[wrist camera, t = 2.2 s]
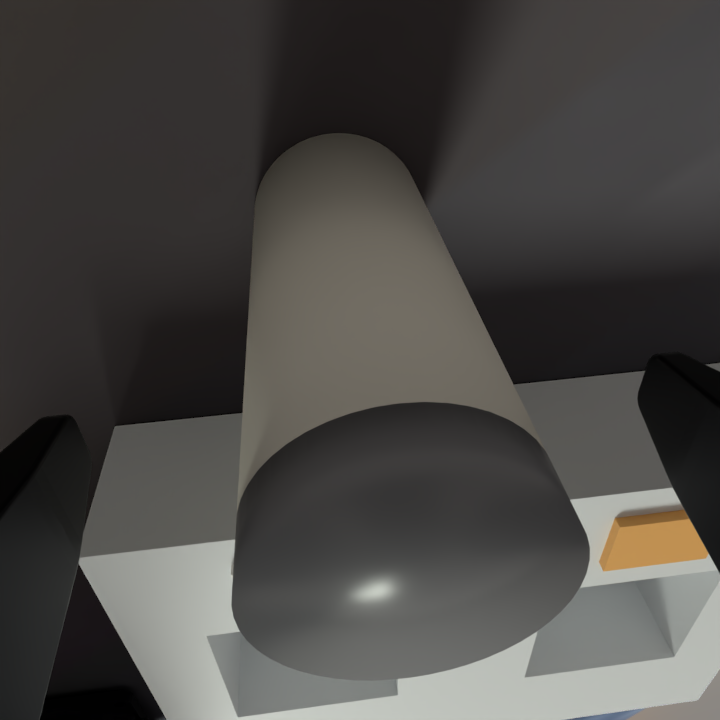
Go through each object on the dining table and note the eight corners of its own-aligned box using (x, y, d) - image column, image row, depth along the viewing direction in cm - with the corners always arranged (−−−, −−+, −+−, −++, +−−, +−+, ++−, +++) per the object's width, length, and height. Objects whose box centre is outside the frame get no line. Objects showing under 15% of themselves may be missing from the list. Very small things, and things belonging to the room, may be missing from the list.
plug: (266, 295, 16) (259, 698, 8) (241, 139, 13) (196, 501, 5) (417, 281, 16) (557, 657, 8) (421, 126, 13) (628, 452, 6)
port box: (206, 654, 26) (195, 781, 23) (114, 426, 18) (72, 569, 14) (643, 597, 28) (701, 708, 24) (755, 359, 19) (873, 473, 15)
